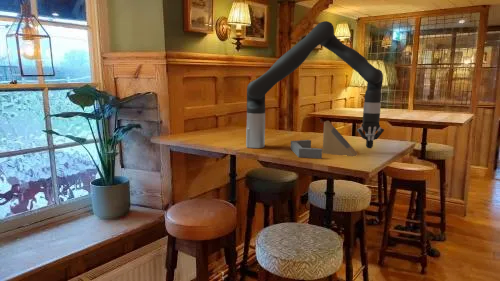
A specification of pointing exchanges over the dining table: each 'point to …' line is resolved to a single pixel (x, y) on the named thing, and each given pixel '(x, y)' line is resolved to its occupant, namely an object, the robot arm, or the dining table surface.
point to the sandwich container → (335, 142)
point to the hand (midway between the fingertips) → (369, 148)
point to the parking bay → (305, 149)
